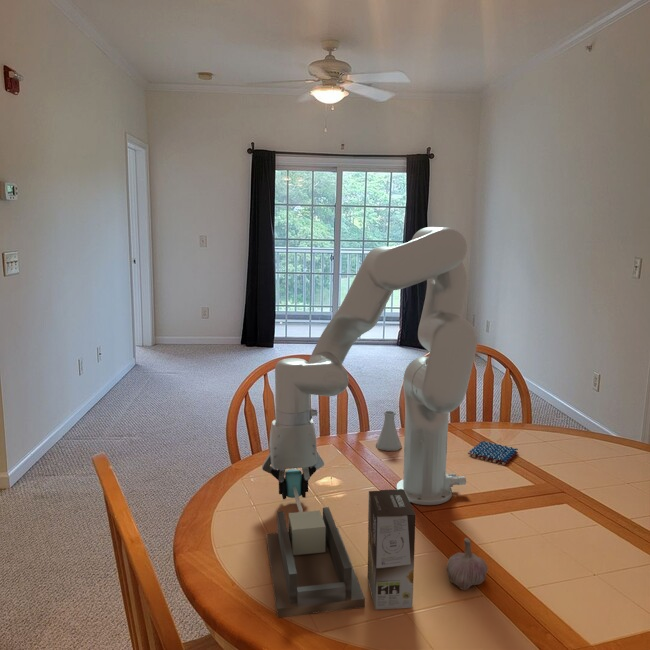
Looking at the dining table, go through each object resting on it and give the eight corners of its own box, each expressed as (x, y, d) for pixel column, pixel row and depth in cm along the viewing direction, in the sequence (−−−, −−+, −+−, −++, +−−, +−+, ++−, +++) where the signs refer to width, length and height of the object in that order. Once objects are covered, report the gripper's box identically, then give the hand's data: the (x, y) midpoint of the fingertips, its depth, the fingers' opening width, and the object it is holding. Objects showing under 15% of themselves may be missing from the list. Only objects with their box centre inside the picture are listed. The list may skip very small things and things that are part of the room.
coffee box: (414, 608, 90) (417, 515, 87) (374, 610, 89) (376, 517, 86) (401, 573, 99) (404, 488, 96) (365, 575, 98) (367, 489, 95)
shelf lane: (337, 534, 111) (337, 503, 110) (364, 607, 90) (365, 570, 89) (266, 540, 109) (266, 509, 108) (277, 617, 87) (277, 579, 86)
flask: (400, 452, 152) (401, 417, 150) (374, 450, 153) (374, 415, 151) (402, 443, 159) (403, 409, 157) (377, 440, 160) (377, 407, 158)
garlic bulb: (460, 598, 92) (463, 554, 91) (435, 573, 99) (437, 531, 98) (497, 587, 95) (500, 543, 94) (470, 563, 102) (472, 522, 101)
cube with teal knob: (305, 490, 126) (305, 468, 125) (325, 552, 102) (325, 525, 101) (279, 492, 125) (278, 470, 124) (292, 555, 101) (292, 528, 100)
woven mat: (480, 445, 158) (481, 439, 158) (518, 454, 152) (519, 447, 152) (466, 457, 150) (466, 450, 150) (505, 467, 144) (506, 460, 143)
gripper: (327, 408, 126) (327, 485, 129) (253, 412, 123) (254, 491, 126) (334, 419, 118) (333, 500, 122) (255, 424, 115) (256, 507, 119)
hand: (293, 494), depth 124 cm, fingers closed on cube with teal knob, 3 cm apart
